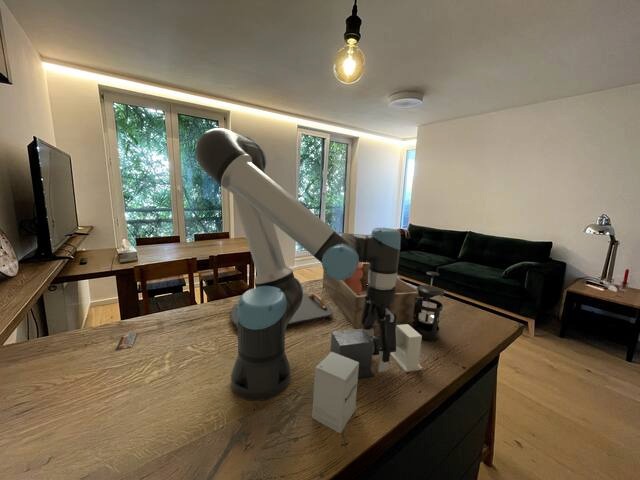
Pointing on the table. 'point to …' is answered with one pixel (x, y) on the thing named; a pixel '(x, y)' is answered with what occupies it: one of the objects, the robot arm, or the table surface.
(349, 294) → the box
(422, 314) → the french press
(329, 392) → the supplement box
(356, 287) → the ceramic vessels
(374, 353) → the rod
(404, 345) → the socket
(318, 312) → the serving board
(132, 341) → the chocolate bar
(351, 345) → the dark grey block
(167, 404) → the table surface
